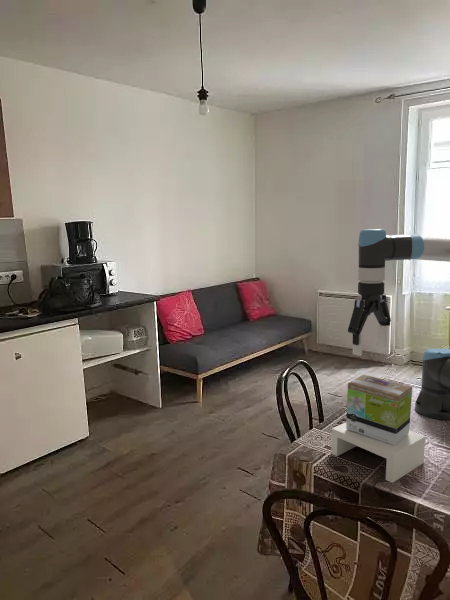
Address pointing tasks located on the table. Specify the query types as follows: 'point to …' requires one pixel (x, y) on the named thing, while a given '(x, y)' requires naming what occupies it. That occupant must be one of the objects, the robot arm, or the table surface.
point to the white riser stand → (383, 450)
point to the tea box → (379, 408)
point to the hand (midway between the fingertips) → (369, 350)
